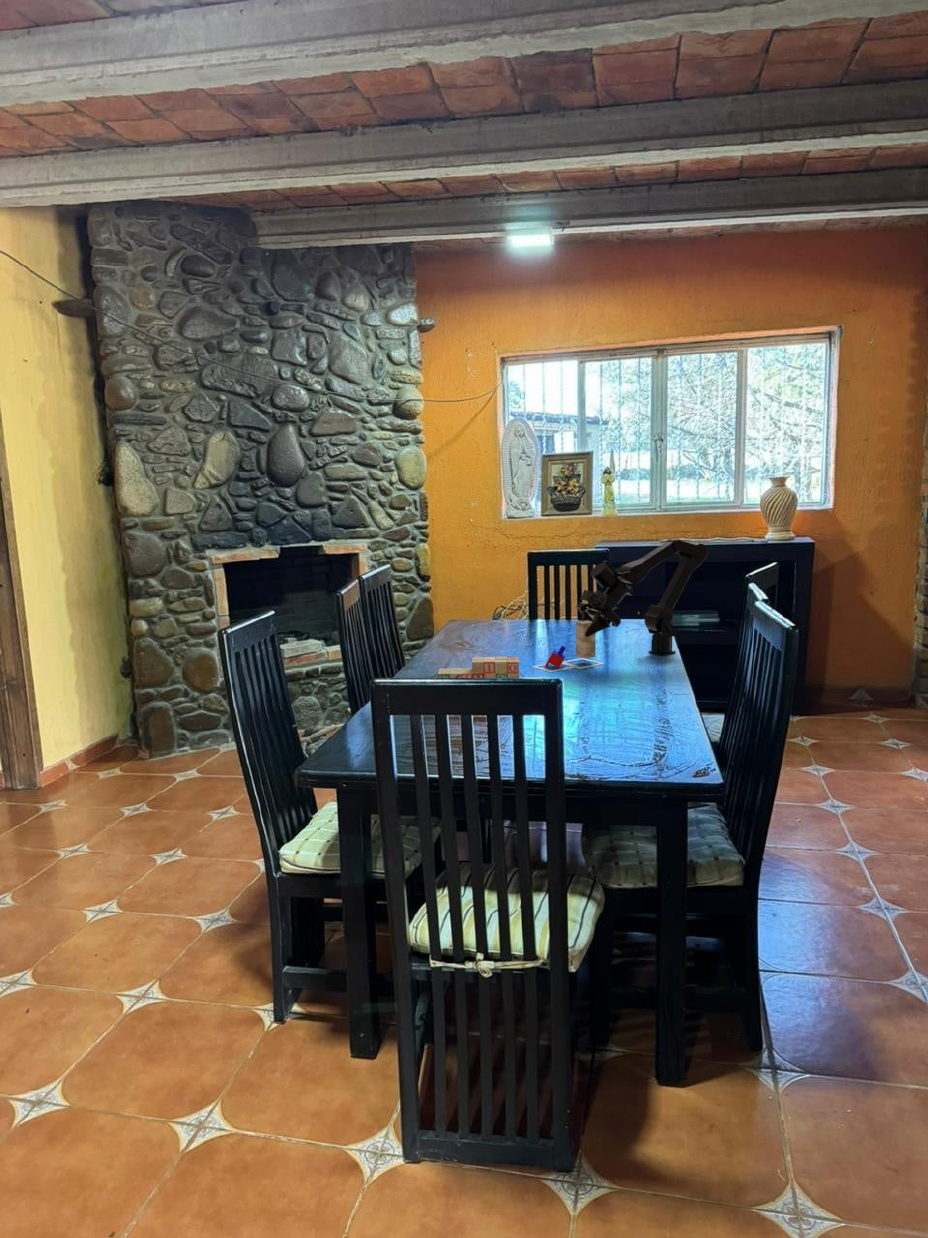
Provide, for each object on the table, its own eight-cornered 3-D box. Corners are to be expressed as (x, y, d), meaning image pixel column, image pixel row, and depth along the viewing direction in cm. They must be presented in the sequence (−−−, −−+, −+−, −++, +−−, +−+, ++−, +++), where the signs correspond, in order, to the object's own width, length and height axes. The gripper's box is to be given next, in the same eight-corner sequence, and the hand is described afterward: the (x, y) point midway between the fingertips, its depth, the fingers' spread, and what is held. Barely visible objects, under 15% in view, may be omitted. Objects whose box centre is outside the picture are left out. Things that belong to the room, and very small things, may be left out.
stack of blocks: (438, 708, 212) (436, 662, 210) (440, 701, 218) (438, 657, 216) (519, 707, 211) (518, 661, 208) (519, 700, 217) (519, 655, 215)
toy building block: (556, 673, 251) (568, 651, 249) (544, 666, 252) (556, 644, 249) (557, 670, 255) (570, 648, 252) (546, 663, 255) (558, 642, 253)
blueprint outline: (579, 657, 264) (579, 657, 264) (604, 663, 254) (604, 663, 254) (531, 667, 254) (531, 666, 254) (555, 673, 244) (555, 673, 244)
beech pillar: (588, 654, 259) (588, 620, 257) (595, 656, 255) (595, 622, 253) (575, 655, 257) (575, 621, 255) (583, 658, 253) (582, 623, 251)
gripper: (581, 577, 262) (551, 614, 260) (612, 583, 245) (581, 623, 243) (602, 599, 266) (573, 635, 264) (634, 607, 249) (603, 646, 247)
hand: (581, 634), depth 254 cm, fingers closed on beech pillar, 4 cm apart
